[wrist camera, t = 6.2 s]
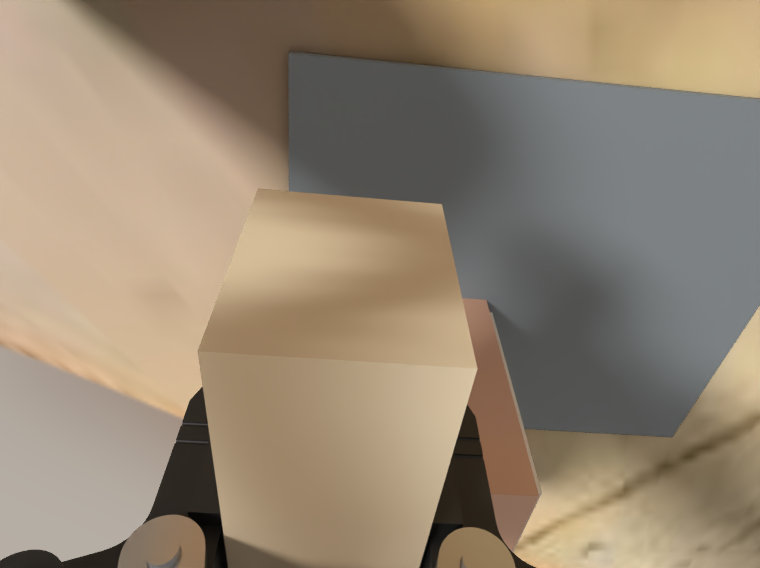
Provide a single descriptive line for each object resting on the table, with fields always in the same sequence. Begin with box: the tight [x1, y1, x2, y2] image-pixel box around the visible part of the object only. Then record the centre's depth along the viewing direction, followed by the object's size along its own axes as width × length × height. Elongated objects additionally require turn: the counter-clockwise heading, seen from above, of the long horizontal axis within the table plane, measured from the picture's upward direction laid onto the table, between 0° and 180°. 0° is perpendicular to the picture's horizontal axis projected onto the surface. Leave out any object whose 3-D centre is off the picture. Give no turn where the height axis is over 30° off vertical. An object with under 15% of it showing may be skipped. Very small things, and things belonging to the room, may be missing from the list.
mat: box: [288, 51, 760, 437], centre depth 25 cm, size 22×19×1 cm
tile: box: [462, 298, 542, 552], centre depth 23 cm, size 2×8×10 cm, turn 174°
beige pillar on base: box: [198, 189, 477, 568], centre depth 12 cm, size 5×14×4 cm, turn 174°
